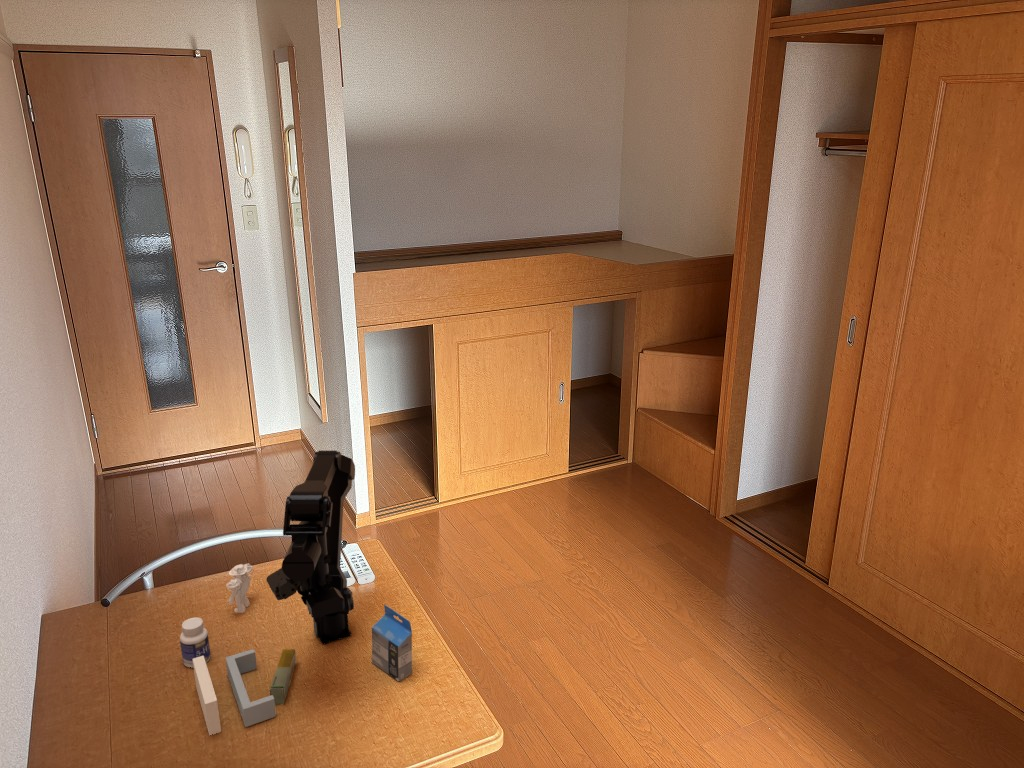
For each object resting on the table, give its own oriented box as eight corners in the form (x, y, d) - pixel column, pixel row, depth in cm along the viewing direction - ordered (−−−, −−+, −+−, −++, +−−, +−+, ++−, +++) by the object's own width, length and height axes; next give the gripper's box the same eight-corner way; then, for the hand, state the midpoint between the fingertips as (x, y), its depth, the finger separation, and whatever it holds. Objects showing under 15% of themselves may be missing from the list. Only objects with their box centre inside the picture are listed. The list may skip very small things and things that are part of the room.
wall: (207, 685, 147) (203, 655, 145) (221, 731, 136) (217, 700, 134) (196, 688, 146) (192, 658, 144) (209, 735, 135) (205, 704, 133)
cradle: (255, 665, 153) (253, 648, 152) (275, 716, 139) (274, 698, 138) (227, 674, 150) (225, 657, 149) (245, 727, 137) (243, 709, 136)
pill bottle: (201, 670, 151) (196, 633, 149) (177, 666, 152) (172, 629, 150) (216, 653, 156) (211, 617, 154) (193, 649, 157) (188, 613, 155)
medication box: (284, 705, 143) (283, 688, 141) (270, 706, 142) (268, 688, 141) (296, 664, 154) (295, 647, 153) (283, 664, 154) (281, 648, 153)
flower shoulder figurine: (241, 620, 167) (236, 573, 163) (225, 618, 168) (219, 571, 164) (259, 597, 176) (254, 551, 172) (243, 595, 176) (238, 550, 172)
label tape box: (371, 662, 154) (368, 611, 151) (386, 653, 157) (384, 603, 153) (398, 683, 149) (396, 630, 145) (414, 673, 152) (412, 621, 148)
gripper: (257, 539, 147) (263, 608, 152) (281, 587, 131) (288, 661, 136) (313, 526, 152) (318, 592, 157) (343, 570, 137) (347, 642, 142)
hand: (317, 620), depth 148 cm, fingers closed
